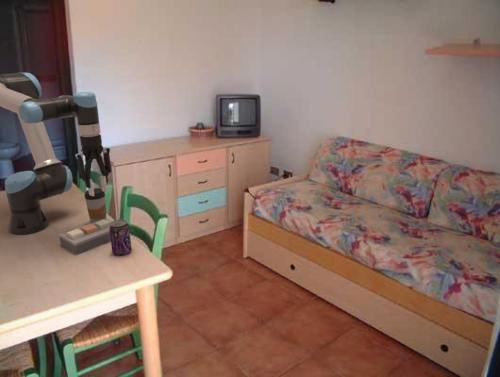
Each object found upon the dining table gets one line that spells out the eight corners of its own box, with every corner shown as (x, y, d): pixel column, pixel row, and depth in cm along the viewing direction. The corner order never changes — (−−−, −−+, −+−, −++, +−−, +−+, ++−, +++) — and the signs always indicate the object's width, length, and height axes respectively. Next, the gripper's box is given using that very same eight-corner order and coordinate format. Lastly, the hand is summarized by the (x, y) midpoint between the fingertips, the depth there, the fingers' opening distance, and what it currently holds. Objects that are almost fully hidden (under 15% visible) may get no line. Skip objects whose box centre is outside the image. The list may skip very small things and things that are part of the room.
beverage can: (121, 258, 162) (117, 228, 158) (108, 253, 165) (104, 224, 161) (135, 250, 168) (132, 221, 163) (122, 245, 171) (119, 217, 167)
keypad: (60, 245, 172) (59, 234, 171) (104, 229, 185) (103, 219, 184) (76, 255, 165) (74, 243, 163) (120, 237, 178) (119, 227, 176)
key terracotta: (82, 234, 174) (81, 227, 173) (92, 230, 177) (91, 223, 176) (87, 237, 171) (86, 230, 170) (98, 233, 174) (97, 226, 173)
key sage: (95, 229, 178) (94, 222, 177) (105, 226, 181) (104, 219, 180) (101, 232, 175) (100, 225, 174) (111, 229, 178) (110, 222, 177)
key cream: (68, 239, 170) (66, 232, 169) (78, 235, 173) (77, 228, 172) (73, 242, 167) (72, 235, 166) (84, 238, 170) (83, 231, 169)
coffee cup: (102, 228, 186) (98, 195, 181) (84, 227, 188) (79, 194, 183) (112, 220, 194) (108, 188, 189) (95, 219, 196) (90, 187, 190)
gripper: (72, 140, 156) (81, 202, 164) (116, 131, 169) (123, 189, 177) (62, 137, 161) (71, 197, 169) (106, 129, 173) (113, 185, 181)
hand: (98, 193), depth 173 cm, fingers open, 5 cm apart
